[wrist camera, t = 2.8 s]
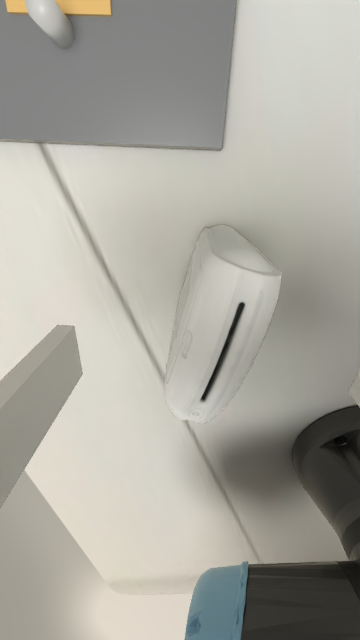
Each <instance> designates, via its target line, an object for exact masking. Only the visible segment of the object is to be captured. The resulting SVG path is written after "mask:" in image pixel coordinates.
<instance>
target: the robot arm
mask: <svg viewBox="0 0 360 640" xmlns="http://www.w3.org/2000/svg"><path fill="white" fill-rule="evenodd" d="M82 374H83V373H82V367H81V361H80V356H79V350H78V344H77V338H76V333H75V327H74V326H68V325H57V326H56V327H55V328H54V329H53V330H52V331H51V332H50V333H49V334H48V335H47V336H46V337H45V338H44V339H43V340H42V341H41V342H40V343H39V344H37V345H36V346H35V347H34V348H33V349H32V350H31V351H30V352H29V353H28V354H27V355H26V356H25V357H24V358H23V359H22V360H21V361H20V362H19V363H18V364H17V365H16V366H15V367H14V368H13V369H12V370H11V371H10V372H9V373H8V374H7V375H6V376H5V377H4V378H3V379H2V380H1V381H0V508H1V506H2V505H3V503H4V501H5V500H6V498H7V497H8V495H9V493H10V492H11V490H12V488H13V487H14V485H15V484H16V482H17V480H18V478H19V477H20V475H21V474H22V472H23V471H24V469H25V467H26V466H27V464H28V462H29V461H30V459H31V457H32V456H33V454H34V453H35V451H36V449H37V448H38V446H39V444H40V443H41V441H42V440H43V438H44V436H45V435H46V433H47V431H48V430H49V428H50V426H51V425H52V423H53V422H54V420H55V418H56V417H57V415H58V413H59V412H60V410H61V409H62V407H63V405H64V404H65V402H66V400H67V399H68V397H69V395H70V394H71V392H72V391H73V389H74V387H75V386H76V384H77V382H78V381H79V379H80V378H81V376H82ZM348 393H349V394H350V395H351V397H352V398H353V399H354V400H355V402H356V403H357V404H358V407H352V408H347V409H344V410H340V411H337V412H334V413H332V414H329V415H327V416H325V417H323V418H321V419H319V420H318V421H316V422H314V423H313V424H312V425H310V426H309V427H308V428H307V429H306V430H305V431H304V432H303V433H302V434H301V435H300V436H299V437H298V439H297V440H296V442H295V444H294V447H293V451H292V461H293V464H294V467H295V470H296V472H297V475H298V478H299V480H300V482H301V484H302V486H303V487H304V488H305V490H306V491H307V492H308V493H309V495H310V496H311V498H312V499H313V501H314V502H315V504H316V505H317V506H318V508H319V509H320V511H321V512H322V513H323V515H324V516H325V517H326V519H327V520H328V522H329V523H330V524H331V526H332V527H333V529H334V530H335V531H336V533H337V534H338V536H339V538H340V540H341V543H342V545H343V547H344V550H345V552H346V555H347V557H348V559H349V561H338V562H337V561H335V562H306V563H278V564H249V565H248V562H243V563H242V564H241V565H237V566H228V567H218V568H211V569H209V570H207V571H205V572H204V573H203V574H202V575H201V577H200V578H199V580H198V582H197V584H196V586H195V589H194V592H193V595H192V600H191V604H190V609H189V614H188V620H187V626H186V634H185V640H360V369H359V371H358V373H357V375H356V377H355V379H354V381H353V383H352V386H351V388H350V390H349V392H348Z"/></svg>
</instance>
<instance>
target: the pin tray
mask: <svg viewBox="0 0 360 640" xmlns="http://www.w3.org/2000/svg"><path fill="white" fill-rule="evenodd" d="M236 1H237V0H0V141H4V142H28V143H51V144H75V145H98V146H122V147H146V148H169V149H193V150H216V151H221V149H222V143H223V133H224V123H225V113H226V102H227V92H228V82H229V72H230V62H231V52H232V42H233V32H234V21H235V11H236Z"/></svg>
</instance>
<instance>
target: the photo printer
mask: <svg viewBox="0 0 360 640" xmlns="http://www.w3.org/2000/svg"><path fill="white" fill-rule="evenodd" d="M281 279H282V273H281V272H280V270H279V269H278V268H277V267H276V266H274V264H273V263H271V261H269V260H268V259H267V258H266V257H265V256H264V255H263V254H262V253H261V252H260V251H259V250H258V249H257V248H256V247H255V246H254V245H253V244H252V243H251V242H249V241H248V240H247V239H245V238H243V237H242V236H241V235H240V234H239V233H238V232H237V231H236V230H235V229H233V228H232V227H230V226H226V225H216V226H212V227H210V228H207V227H205V228H204V229H203V231H202V233H201V235H200V237H199V239H198V241H197V244H196V247H195V250H194V253H193V256H192V259H191V262H190V265H189V268H188V271H187V275H186V278H185V282H184V285H183V288H182V292H181V295H180V299H179V303H178V307H177V311H176V315H175V321H174V327H173V333H172V339H171V345H170V351H169V357H168V363H167V365H166V374H165V381H164V395H165V400H166V403H167V405H168V407H169V408H170V410H171V411H172V413H173V414H174V415H175V416H176V417H177V418H179V419H181V420H191V421H194V422H196V423H198V424H203V423H206V422H208V421H210V420H211V419H213V418H214V417H216V416H217V415H218V414H219V413H220V412H221V411H222V410H223V409H224V408H225V407H226V406H227V404H228V403H229V402H230V400H231V399H232V398H233V396H234V395H235V393H236V392H237V390H238V388H239V387H240V385H241V383H242V382H243V380H244V378H245V376H246V374H247V373H248V371H249V369H250V367H251V365H252V363H253V361H254V359H255V357H256V355H257V353H258V350H259V348H260V346H261V344H262V341H263V339H264V337H265V334H266V332H267V329H268V327H269V324H270V322H271V319H272V316H273V313H274V310H275V308H276V304H277V300H278V297H279V292H280V286H281Z"/></svg>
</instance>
